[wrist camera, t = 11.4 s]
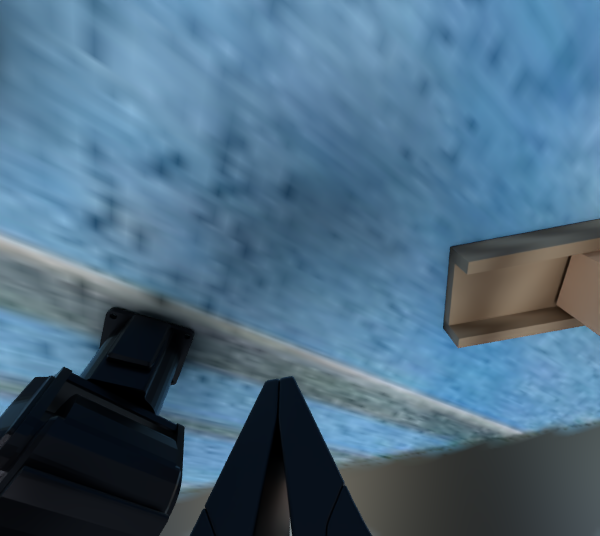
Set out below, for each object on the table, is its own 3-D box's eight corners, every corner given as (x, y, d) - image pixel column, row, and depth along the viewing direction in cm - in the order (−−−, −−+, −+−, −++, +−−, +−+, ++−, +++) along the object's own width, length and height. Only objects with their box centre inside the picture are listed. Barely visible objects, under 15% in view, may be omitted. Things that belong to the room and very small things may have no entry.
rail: (443, 328, 26) (458, 348, 24) (450, 246, 22) (468, 262, 20) (640, 292, 25) (673, 309, 23) (684, 203, 21) (728, 214, 19)
